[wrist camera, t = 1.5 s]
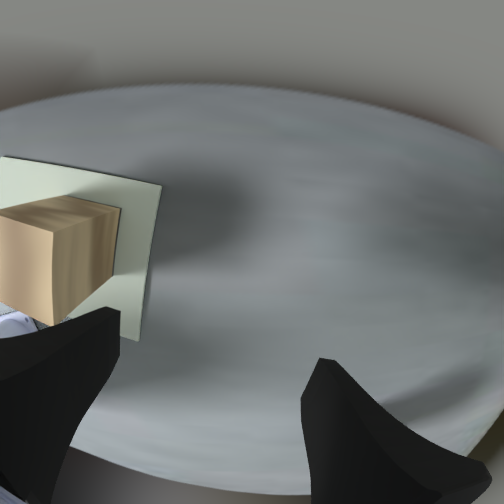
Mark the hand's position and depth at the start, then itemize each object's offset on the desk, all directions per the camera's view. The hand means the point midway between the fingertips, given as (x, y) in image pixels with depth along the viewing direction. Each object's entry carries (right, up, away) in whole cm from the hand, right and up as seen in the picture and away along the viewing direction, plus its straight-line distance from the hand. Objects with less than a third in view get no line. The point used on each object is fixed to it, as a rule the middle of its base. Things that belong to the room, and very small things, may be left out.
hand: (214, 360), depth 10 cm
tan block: (-11, +5, +9) cm, 15 cm away
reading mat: (-14, +4, +10) cm, 17 cm away
